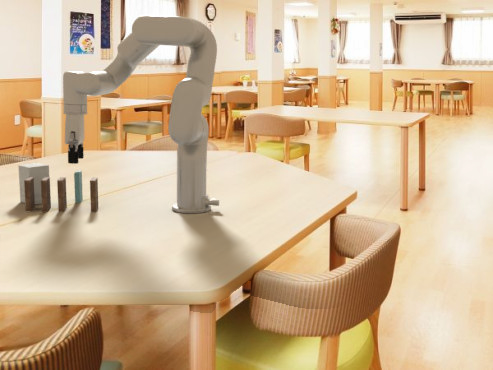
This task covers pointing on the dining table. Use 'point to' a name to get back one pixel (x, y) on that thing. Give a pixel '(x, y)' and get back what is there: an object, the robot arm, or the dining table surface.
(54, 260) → the dining table surface
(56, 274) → the dining table surface
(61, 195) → the domino
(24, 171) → the supplement box
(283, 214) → the dining table surface
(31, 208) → the domino
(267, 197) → the dining table surface
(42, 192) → the domino
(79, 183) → the domino
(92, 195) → the domino
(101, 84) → the robot arm
